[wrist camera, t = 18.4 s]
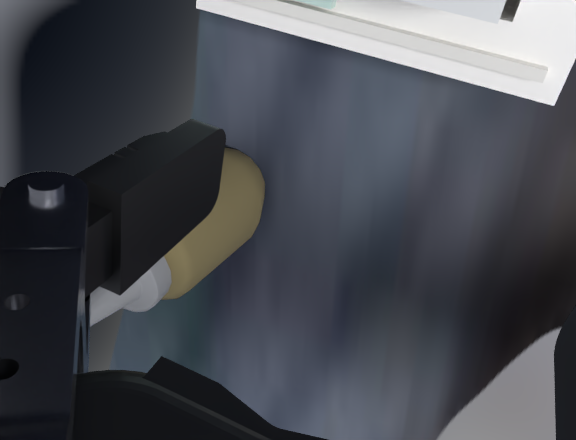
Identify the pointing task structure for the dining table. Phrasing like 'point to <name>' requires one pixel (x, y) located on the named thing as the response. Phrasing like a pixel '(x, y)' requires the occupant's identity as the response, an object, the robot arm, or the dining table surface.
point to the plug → (467, 8)
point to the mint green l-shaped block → (321, 3)
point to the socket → (436, 38)
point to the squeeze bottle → (197, 243)
